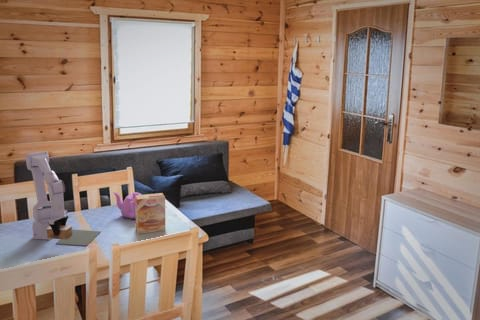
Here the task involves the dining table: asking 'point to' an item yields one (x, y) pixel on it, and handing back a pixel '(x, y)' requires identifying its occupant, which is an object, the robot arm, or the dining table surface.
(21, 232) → the dining table surface
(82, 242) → the mat
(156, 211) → the coffeecake box
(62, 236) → the card box
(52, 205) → the robot arm
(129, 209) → the teapot
